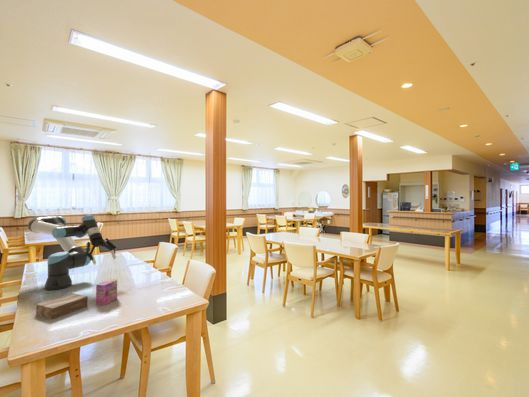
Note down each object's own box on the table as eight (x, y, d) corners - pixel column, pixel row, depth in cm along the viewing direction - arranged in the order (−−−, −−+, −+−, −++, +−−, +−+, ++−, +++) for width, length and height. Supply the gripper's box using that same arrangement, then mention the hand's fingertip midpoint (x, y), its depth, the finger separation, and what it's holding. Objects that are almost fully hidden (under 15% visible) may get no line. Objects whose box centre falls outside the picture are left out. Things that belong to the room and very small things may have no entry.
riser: (36, 315, 141) (36, 303, 141) (72, 303, 157) (72, 292, 157) (51, 320, 135) (51, 308, 135) (87, 306, 151) (87, 296, 151)
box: (104, 305, 153) (104, 285, 153) (95, 304, 154) (95, 284, 154) (117, 298, 163) (117, 279, 163) (109, 298, 164) (109, 279, 164)
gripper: (77, 235, 177) (88, 263, 172) (114, 229, 198) (125, 254, 193) (73, 240, 180) (83, 268, 175) (110, 234, 202) (120, 258, 197)
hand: (105, 261), depth 184 cm, fingers open, 13 cm apart
